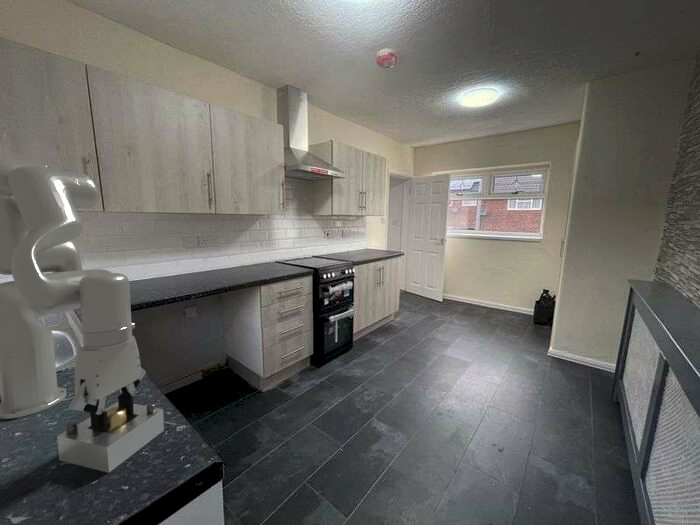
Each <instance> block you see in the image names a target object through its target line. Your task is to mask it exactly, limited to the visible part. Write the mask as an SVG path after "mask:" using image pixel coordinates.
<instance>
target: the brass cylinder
mask: <svg viewBox="0 0 700 525" xmlns="http://www.w3.org/2000/svg"><path fill="white" fill-rule="evenodd" d="M106 412H107V417H108V430H107V431H105V432H106V433H112V432H114V431H116V430H117V429H119V428H120V427H122V426H123V425H125V424H126V423H127V417H126V408H125V407H123V406H118V407H114V408H111V409H108V410H106Z"/></svg>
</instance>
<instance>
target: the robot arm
mask: <svg viewBox="0 0 700 525" xmlns="http://www.w3.org/2000/svg"><path fill="white" fill-rule="evenodd" d="M96 184H97V183H95V181H94V180H93V179H92V178H91V177H90V176H89V175H87V174H85V173H82V172H79V171H76V170H75V171H74V170H72V169H68V168H66V167H61V166H54V165H50V164H43V163H39V162H32V161H26V160H20V159H17V158H16V159H15V158H8V157H3V156H0V275H3V276H4V275H6V276H10V275H11V276H12V278H13V280H9V281H6V282H1V283H0V399H1V402H0V420H10V419H17V418H23V417H26V416H27V417H28V416H30V415H34V414H37V413H39V412H42V411H44V410H47V409H49V408H52V407H54V406H56V405H57V404H59V403H60V402H62V401H63V400H64V399H65V398H66V397H67V390H66V388H64V387H59V386H58V380H57V379H58V378H57V377H58V376H57V367H56V366H57V365H56V364H57V363H56V355H55V354H56V353H55V352H56V351H55V341H54V340H55V339H54V333H53V331H52V330H51V328H50V327H49V326H48V325H47V324H44V323H43V322H41V321H40V320H39V319H38V318H40V317H45V316H49V315H54V314H60V313H65V312H70V311H74V310H77V309H80V314H81V328H82V330H81V331H82V344H83V346H81V347H79V348H78V350H77V355H76V359H75V366H74V379H73V380H74V381H73V382H74V383H73V384H74V396H73V398H72V400H71V402H70V404H69V405H68V409H69V410H73V411H79V412H80V411H82V412H85V413H88V414H90V415H89V416H90V417H91V427H92V429H93V430H97V431H101V432H105V431H107V430H108V417H107V412H106V411H104V409H105V406H106V405H105V404H106V399H107V397H108V396H110V395H112V394H114V393H115V392H118V391H119V392H120V394H119V395H118V397H117V402H118V405H119V406H123V407H125V408H126V415H130V416H131V415H132V414H133V413H134V410H133V404H134V396H135V395H136V394H137V388H138V386H139V385H140V383H141V380H142V379H143V378H144V376H145V375H146V374H147V370H145V369H144V368H143V367H141V359H140V352H139V348H138V344H137V340H136V337H135V336H134V335H133V329H135V328H136V324H135V322H132V312H131V311H132V310H131V306H132V305H131V292H130V290H131V289H130V280H129V278H128V276H127V275H126V274H123V273H119V272H117V273H116V272H112V271H109V270H107V269H103V268H102V269H101V268H98V269H97V268H95V269H93V268H92V269H87V270H86V269H83V266H82V265H83V264H82V258H81V254H80V250H79V247H78V246H77V244H76V243H75V241H74V239H76V238H78V237H79V236H80V235H81V234H82V233H83V231H84V223H83V221H82V219H81V218H80V216H79V215H80V214H78V211H77V209H85V210H86V209H88V210H89V209H92V208H94V207H95V206H96V205H97V204H98V202H99V198H100V195H99V194H100V193H99V189H98V186H97V185H96ZM87 397H88V399H87V403H86V402H85V401H86V398H87ZM90 417H89V418H90Z"/></svg>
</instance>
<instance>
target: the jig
mask: <svg viewBox="0 0 700 525" xmlns="http://www.w3.org/2000/svg"><path fill="white" fill-rule="evenodd" d="M118 406H119V405H118V401H117V402H115V403H114V404H112V405H110V406H107V407H106V408H104V411H106V410H108V409H111V408H114V407H118ZM156 406H157V405H156V403H155V402H150V403H148V404H146V405H143V404H137V403H133V410H134V413H133V414H132V415H131V416H130V415H126V417H127V423H126V424H125V425H123V426H122V427H120V428H119V429H117V430H116V431H114V432H112V433H106V432H101V431H97V430H93V429H92V427H91V417H88V418H86V419H85V420H83V421H81V422H80V423H78V421H72V422H69V423H67V424H65V431H63V432H62V433H60V434H58V435H56V437H57V449H58V461H61V462H65V463H69V464H73V465H77V466H80V467H84V468H89V469H93V470H96V471H100V472H104V473H108V474H109V473H111V472H112V471H113V470H114V469H115V468H117V467H119V466H120V465H121V464H123V463H124V462H125V461H126V460H128V459H129V458H131V457H132V456H133V455H134V454H135V453H137V451H139V450H141V449H142V448H144V446H146V445H147V444H148V443H150V442H151V441H152V440H153V439H155V438H156V437H157V436H158V435H161V433H163V432H164V431H165V424H164V422H165V421H164V409H163V408H161V407H156Z"/></svg>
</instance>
